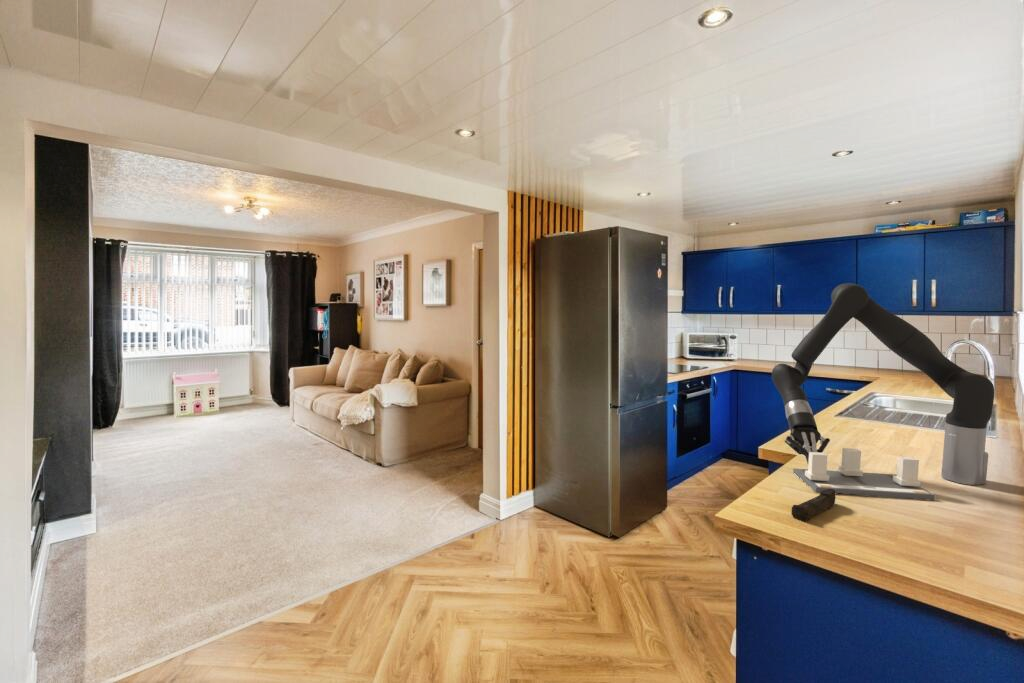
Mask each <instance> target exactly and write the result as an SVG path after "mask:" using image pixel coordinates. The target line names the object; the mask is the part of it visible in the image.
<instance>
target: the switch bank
mask: <svg viewBox="0 0 1024 683" xmlns="http://www.w3.org/2000/svg"><path fill="white" fill-rule="evenodd" d="M805 470H807V471H808V468H793V470H792V473H793V474H794V473H795V474H796V475H797V476H798V477H799V478H798V477H797V476H796V475H795V474H794V475H795V476H796V477H797V478H798V479H800V478H801V479H802V480H803V481H804V482H805V483H806V484H805V483H804V482H803V481H802V480H801V479H800V480H801V481H802V482H803V483H804V484H805V485H807V486H808V487H809V486H810V487H811V488H812V489H813V490H812V489H811V488H810V487H809V488H810V489H811V490H812V491H813V492H815V493H817V492H821V491H823V490H827V489H834V490H835V493H843V494H842V495H847V494H856V495H855V496H863V495H869V496H868V497H878V496H881V497H882V498H893V497H894V498H897V499H909V498H914V499H913V500H924V499H930V500H929V501H935V494H934V493H933V492H931V491H929V490H927V489H925V488H923V487H922V486H921V487H918V486H902V485H900V484H898V483H896V482H895V481H893V476H897V473H894V474H893V473H878V472H863V476H848V475H843V474H842V473H841V472H839V471H838V470H829V469H827V472H826V474H827V475H829V481H819V480H810V479H809V478H808V477H806V476H805ZM870 495H871V496H870ZM881 497H880V498H881ZM915 498H916V499H915Z"/></svg>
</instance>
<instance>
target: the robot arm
mask: <svg viewBox="0 0 1024 683" xmlns="http://www.w3.org/2000/svg"><path fill="white" fill-rule="evenodd" d="M830 299H831V300H830V301H831V304H830V306H829V309H828V310H827V312H826V313H825V314H824V316H823V317H822V318H821V319H820V321H819V322H818V323H817V324H816V325H815V326H814V327H813V328H812V329H810V331H809V332H808V333H807V334H806V335H805V336H804V337H803V338H802V339H801V341H800V342H799V343H798V345H797V346H796V347H795V348H794V350H793V351H792V353H791V358H792V359H793V360H794V361H795V365H794V367H793V366H791V365H789V364H787V363H779V364H777V365H774V367H773V368H772V371H771V379H772V382H773V384H774V386H775V388H776V389H777V391H778V393H779V394H780V395H781V399H782V403H783V405H784V410H785V411H784V412H785V418H786V419H787V423H788V427H789V430H790V434H789V435H787V436H786V438H785V440H784V443H785V444H787V445H788V446H789V447H790V448H791V449H792V450H793V451H795V453H796V454H798V455H803V456H805V459H806V463H807V464H808V461H809V452H819V453H824V451H825V449H826V447H827V446H828V444H829V443H830V441H831V439H830V438H829V437H827V438H826V437H823V436H822V434H821V433H820V432H819V430H818V426H817V423H816V420H815V416H814V414H813V410H812V408H811V406H810V404H809V400H808V397H807V394H806V392H805V390H804V389H803V388H802V387H801V386H803V385H804V384H805V383H806V381H807V379H808V377H809V373H810V371H811V370H812V366H813V364H814V362H815V361H816V360H817V359H818V358H819V357H820V356H821V354H822V353H823V351H824V350H825V349H826V348H827V346H828V345H829V344H830V342H831V341H832V340H833V339H834V338H835V336H836V335H837V334H838V332H840V331H841V329H843V327H844V326H845V325H846V324H847V323H848V322H850V320H851V319H853V318H854V319H855V320H857V321H858V322H860V323H861V324H862V325H863V326H864V327H866V328H867V330H869V332H871V334H873V336H875V338H876V339H878V341H880V342H881V343H882V344H883V345H884V346H885V347H886V348H888V349H889V350H890V351H892V352H893V353H894V354H895V355H897V356H898V357H900V358H901V359H902V360H904V361H906V362H907V363H909V365H912V367H915V368H916V369H917V370H920V372H922V373H923V374H925V375H926V376H927V377H928V378H930V379H931V380H932V381H933V382H934V383H935V384H936V385H937V386H939V388H940V389H941V390H943V392H944V393H945V394H946V395H948V396H949V397H950V398H952V399H953V404H952V409H951V411H949V412H948V413H947V414H946V415H945V426H944V438H943V450H942V462H941V464H942V465H941V477H942V478H943V479H945V480H948V481H951V482H954V483H958V484H961V485H962V484H963V485H972V486H980V485H986V484H987V474H988V465H989V452H987V451H986V441H987V440H986V439H987V428H988V423H989V421H990V420H991V418H992V414H993V408H994V400H995V387H994V384H993V382H992V380H990V379H989V378H988V377H986V376H984V375H981V374H977V373H974V372H969V371H968V370H966V369H965V368H963V367H961V366H959V365H957V364H956V363H954V362H953V361H952V360H950V359H949V358H947V357H946V356H945V355H944V354H943V353H942V352H941V351H940V349H939V348H938V346H937V345H936V344H935V343H934V342H933V340H932V339H931V338H929V337H928V336H927V335H926V334H924V333H923V332H922V331H920V330H919V329H918V328H917V327H915V326H914V325H912V324H911V323H909V322H908V321H907V320H904V319H903V318H902V317H900V316H898V315H896V314H895V313H892V311H891V312H890V311H889V310H888V309H885V308H884V307H882V306H881V305H880V304H878V303H877V302H876V301H875V300H874V299H873V298H871V296H869V293H868V291H867V290H866V289H865V288H864V287H863V286H862V285H860V284H856V283H852V282H847V283H842V284H841V283H840V284H839V285H837V286H835V288H834V289H833V290H832V291H831V295H830ZM818 442H819V444H820V446H819V448H818V449H817V445H818V444H817V443H818Z"/></svg>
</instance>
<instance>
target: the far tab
mask: <svg viewBox="0 0 1024 683" xmlns="http://www.w3.org/2000/svg"><path fill="white" fill-rule="evenodd" d="M807 465H808V466H807V469H808V471H807V470H805V476H806V477H808V478H809V479H810V480H819V481H829V475H827V474H826V472H827V470H828V468H827V465H828V455H827V454H826V453H824V452H822V453H819V452H809V461H808V463H807Z"/></svg>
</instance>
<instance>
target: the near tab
mask: <svg viewBox="0 0 1024 683" xmlns="http://www.w3.org/2000/svg"><path fill="white" fill-rule="evenodd" d="M919 463H920V459H918V458H915V457H913V456H912V457H911V456H897V466H896V474H897V476H893V481H895V482H896V483H898V484H900V485H902V486H918V487H922V481H921V480H919V478H918V477H919Z"/></svg>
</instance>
